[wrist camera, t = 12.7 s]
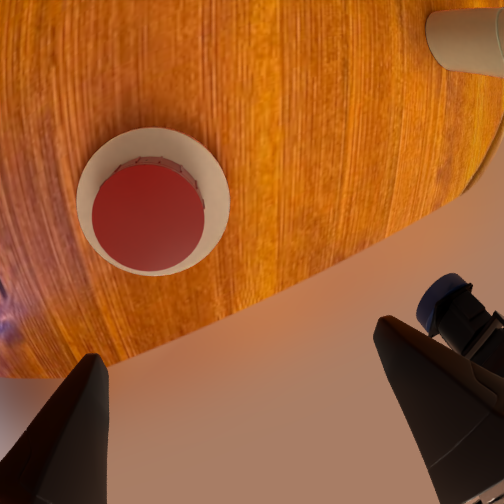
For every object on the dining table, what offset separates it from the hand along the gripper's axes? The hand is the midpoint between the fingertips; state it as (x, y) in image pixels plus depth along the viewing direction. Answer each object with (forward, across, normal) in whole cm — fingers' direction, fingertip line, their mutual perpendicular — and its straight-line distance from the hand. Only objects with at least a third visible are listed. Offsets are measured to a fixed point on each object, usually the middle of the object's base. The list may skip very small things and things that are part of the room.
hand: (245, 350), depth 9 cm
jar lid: (+8, +4, -1) cm, 9 cm away
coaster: (+11, +4, -1) cm, 11 cm away
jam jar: (+11, -17, -13) cm, 24 cm away
